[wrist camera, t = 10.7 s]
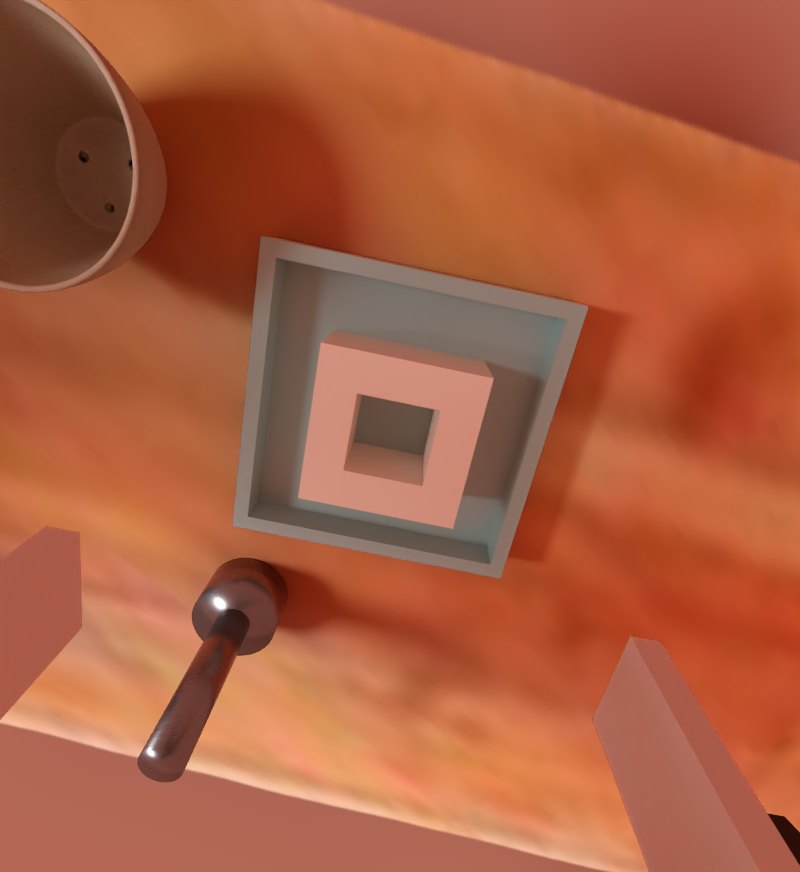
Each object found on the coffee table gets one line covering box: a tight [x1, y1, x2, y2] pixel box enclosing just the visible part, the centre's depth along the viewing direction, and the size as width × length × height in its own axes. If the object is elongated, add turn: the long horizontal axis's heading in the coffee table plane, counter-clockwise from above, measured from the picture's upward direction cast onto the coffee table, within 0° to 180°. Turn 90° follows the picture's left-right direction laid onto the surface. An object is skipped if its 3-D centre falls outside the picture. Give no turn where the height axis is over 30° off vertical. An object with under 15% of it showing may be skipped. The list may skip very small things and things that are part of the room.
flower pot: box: [0, 0, 167, 293], centre depth 22 cm, size 10×10×7 cm
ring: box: [298, 329, 494, 529], centre depth 26 cm, size 8×8×4 cm
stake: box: [138, 558, 287, 782], centre depth 28 cm, size 5×5×12 cm
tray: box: [232, 236, 589, 579], centre depth 27 cm, size 16×16×2 cm
